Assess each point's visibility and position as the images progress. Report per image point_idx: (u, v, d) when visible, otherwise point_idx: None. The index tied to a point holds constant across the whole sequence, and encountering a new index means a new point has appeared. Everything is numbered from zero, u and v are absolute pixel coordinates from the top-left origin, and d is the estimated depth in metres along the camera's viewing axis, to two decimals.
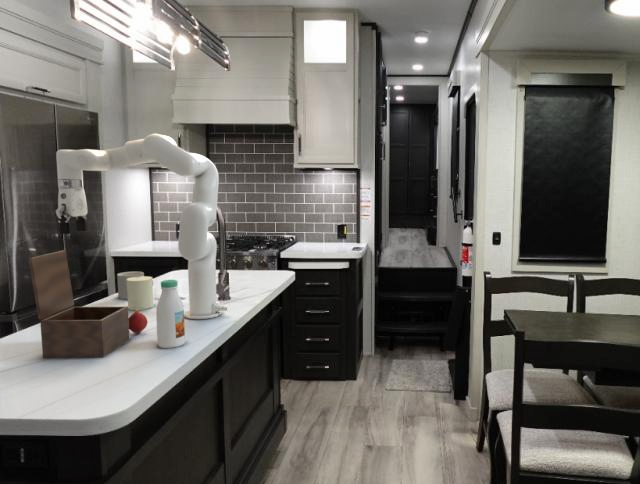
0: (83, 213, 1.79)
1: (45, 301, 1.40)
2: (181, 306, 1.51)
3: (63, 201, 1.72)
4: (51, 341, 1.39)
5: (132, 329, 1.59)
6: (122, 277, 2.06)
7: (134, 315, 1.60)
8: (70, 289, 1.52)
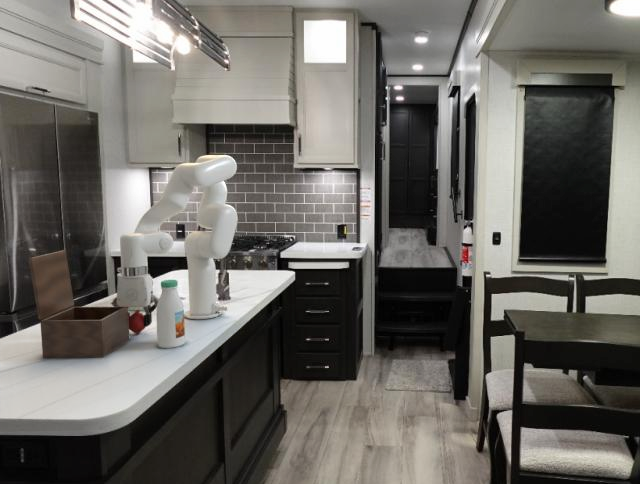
0: (137, 304, 1.58)
1: (45, 301, 1.40)
2: (181, 306, 1.51)
3: None
4: (51, 341, 1.39)
5: (132, 329, 1.59)
6: None
7: (134, 315, 1.60)
8: (70, 289, 1.52)
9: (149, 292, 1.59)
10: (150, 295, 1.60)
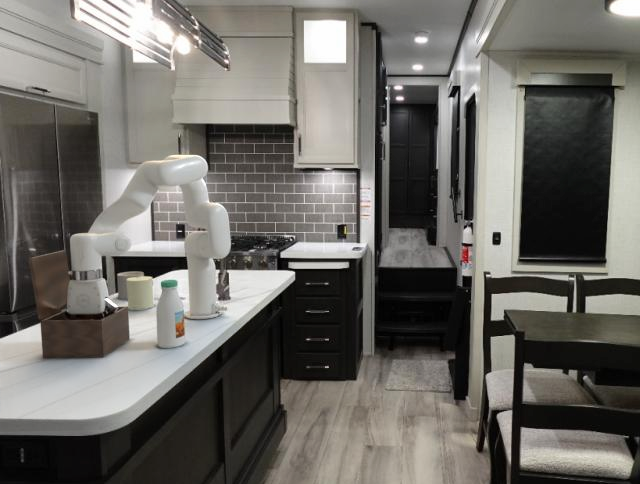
0: (90, 312, 1.44)
1: (45, 301, 1.40)
2: (181, 306, 1.51)
3: None
4: (51, 341, 1.39)
5: None
6: (122, 277, 2.06)
7: None
8: None
9: (103, 298, 1.45)
10: (104, 301, 1.45)
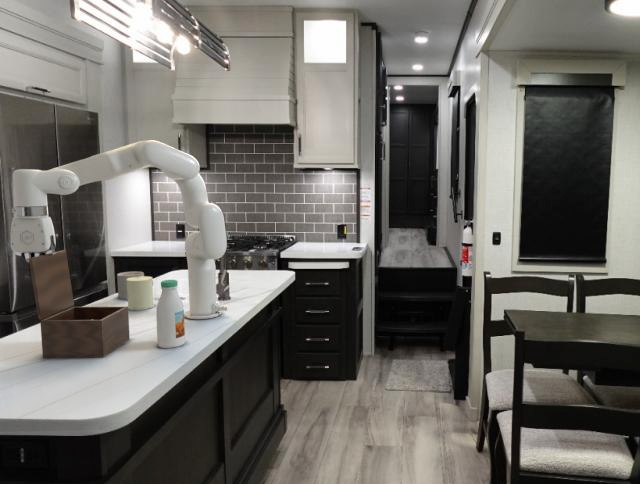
0: (34, 249, 1.41)
1: (45, 301, 1.40)
2: (181, 306, 1.51)
3: None
4: (51, 341, 1.39)
5: None
6: (122, 277, 2.06)
7: None
8: (70, 289, 1.52)
9: (48, 236, 1.42)
10: (49, 239, 1.42)
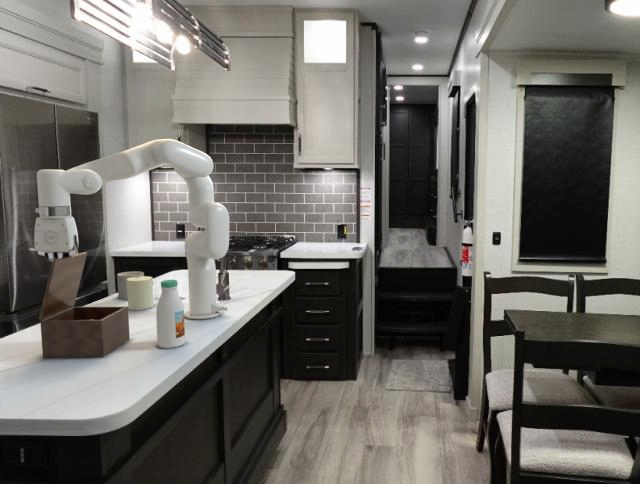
0: (57, 249, 1.41)
1: (51, 302, 1.40)
2: (181, 306, 1.51)
3: None
4: (51, 341, 1.39)
5: None
6: (122, 277, 2.06)
7: None
8: (77, 290, 1.53)
9: (71, 235, 1.42)
10: (73, 239, 1.43)
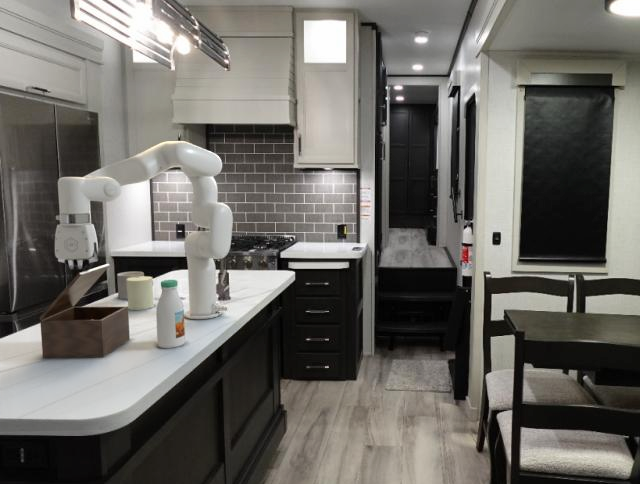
0: (78, 256, 1.42)
1: (57, 306, 1.41)
2: (181, 306, 1.51)
3: None
4: (51, 341, 1.39)
5: None
6: (122, 277, 2.06)
7: None
8: (83, 294, 1.53)
9: (91, 243, 1.43)
10: (93, 246, 1.43)
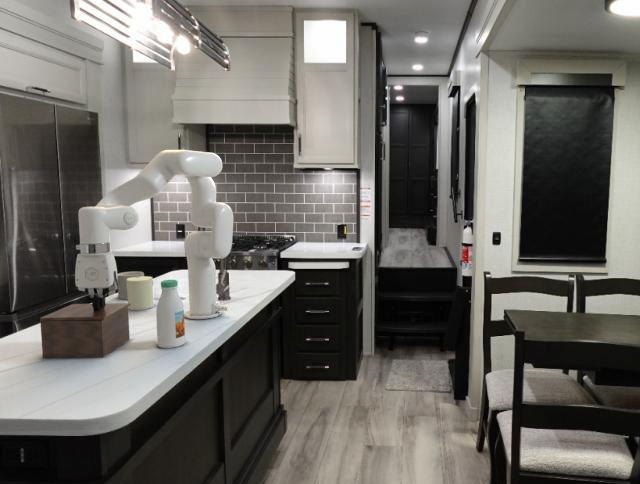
0: (98, 285, 1.43)
1: None
2: (181, 306, 1.51)
3: None
4: (51, 341, 1.39)
5: None
6: (122, 277, 2.06)
7: None
8: None
9: (111, 272, 1.44)
10: (113, 275, 1.44)
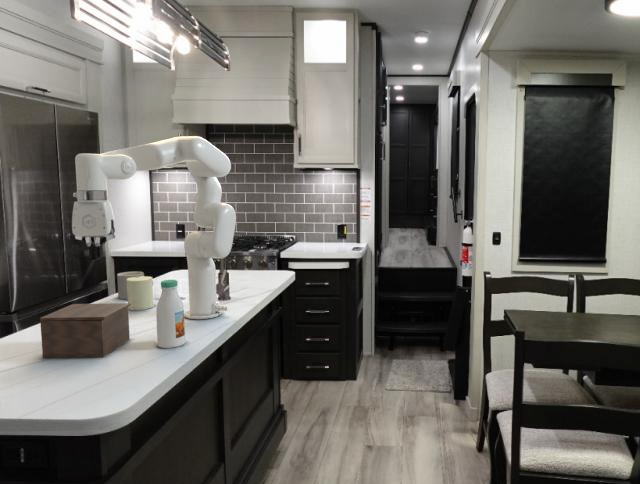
0: (95, 233, 1.41)
1: None
2: (181, 306, 1.51)
3: None
4: (51, 341, 1.39)
5: None
6: (122, 277, 2.06)
7: None
8: None
9: (109, 220, 1.42)
10: (110, 223, 1.43)
